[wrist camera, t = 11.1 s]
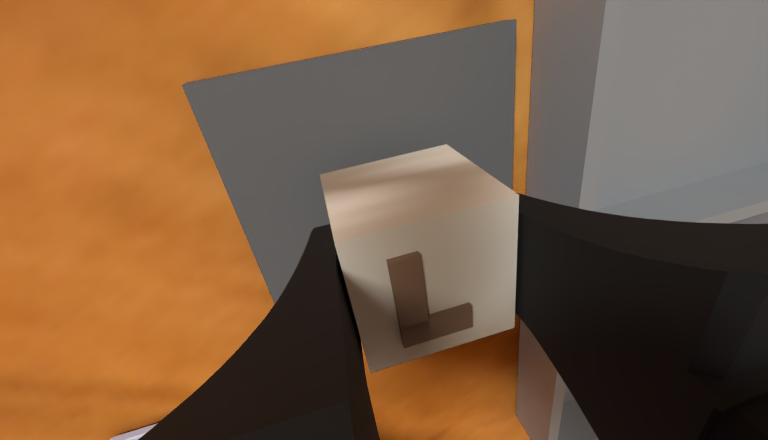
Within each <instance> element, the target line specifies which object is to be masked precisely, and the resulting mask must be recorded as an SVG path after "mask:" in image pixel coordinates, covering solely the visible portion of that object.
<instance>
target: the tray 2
mask: <svg viewBox="0 0 768 440" xmlns="http://www.w3.org/2000/svg"><path fill="white" fill-rule="evenodd" d="M526 196H530V197H534V198H537V199H541V200H545V201H549V202H553V203H557V204H561V205H566V206H571V207H575V208H580V209H584V210H590V211H595V212H601V213H608V214H614V215H621V216H628V217H636V218H645V219H657V220H668V221H680V222H699V223H732V222H736V221H739V220H742V219H746V218H749V217H752V216H755V215H759V214H762V213H765V212H768V0H535V6H534V28H533V50H532V72H531V94H530V115H529V137H528V159H527V181H526Z"/></svg>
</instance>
